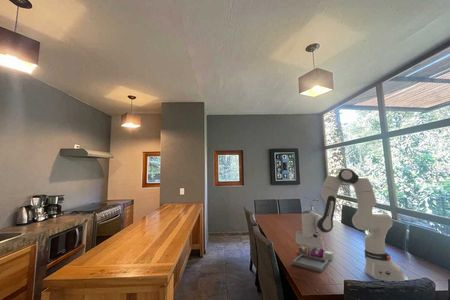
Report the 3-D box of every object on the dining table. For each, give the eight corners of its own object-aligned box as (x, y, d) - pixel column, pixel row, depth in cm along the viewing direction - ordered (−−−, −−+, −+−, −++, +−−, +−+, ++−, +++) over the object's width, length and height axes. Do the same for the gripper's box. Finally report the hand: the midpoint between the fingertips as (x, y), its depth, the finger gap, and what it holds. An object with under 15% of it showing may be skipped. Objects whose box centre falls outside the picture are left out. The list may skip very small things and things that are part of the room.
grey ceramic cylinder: (325, 250, 178) (324, 241, 178) (323, 252, 174) (323, 243, 175) (319, 249, 181) (318, 240, 182) (317, 250, 177) (316, 242, 178)
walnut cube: (307, 253, 172) (306, 247, 173) (304, 255, 168) (304, 248, 169) (301, 251, 175) (300, 245, 176) (299, 253, 172) (298, 247, 172)
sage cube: (333, 258, 160) (332, 252, 160) (331, 261, 156) (331, 254, 157) (326, 257, 163) (326, 250, 164) (324, 259, 159) (324, 252, 160)
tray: (328, 263, 152) (328, 260, 152) (321, 272, 138) (321, 268, 138) (301, 256, 165) (301, 253, 165) (292, 264, 151) (292, 261, 151)
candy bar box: (308, 256, 166) (307, 235, 168) (308, 253, 170) (307, 233, 172) (323, 257, 162) (322, 236, 164) (323, 255, 167) (321, 234, 169)
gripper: (293, 231, 159) (294, 250, 157) (321, 236, 145) (322, 256, 143) (297, 229, 163) (298, 247, 162) (324, 234, 150) (325, 254, 148)
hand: (310, 252), depth 152 cm, fingers open, 8 cm apart
